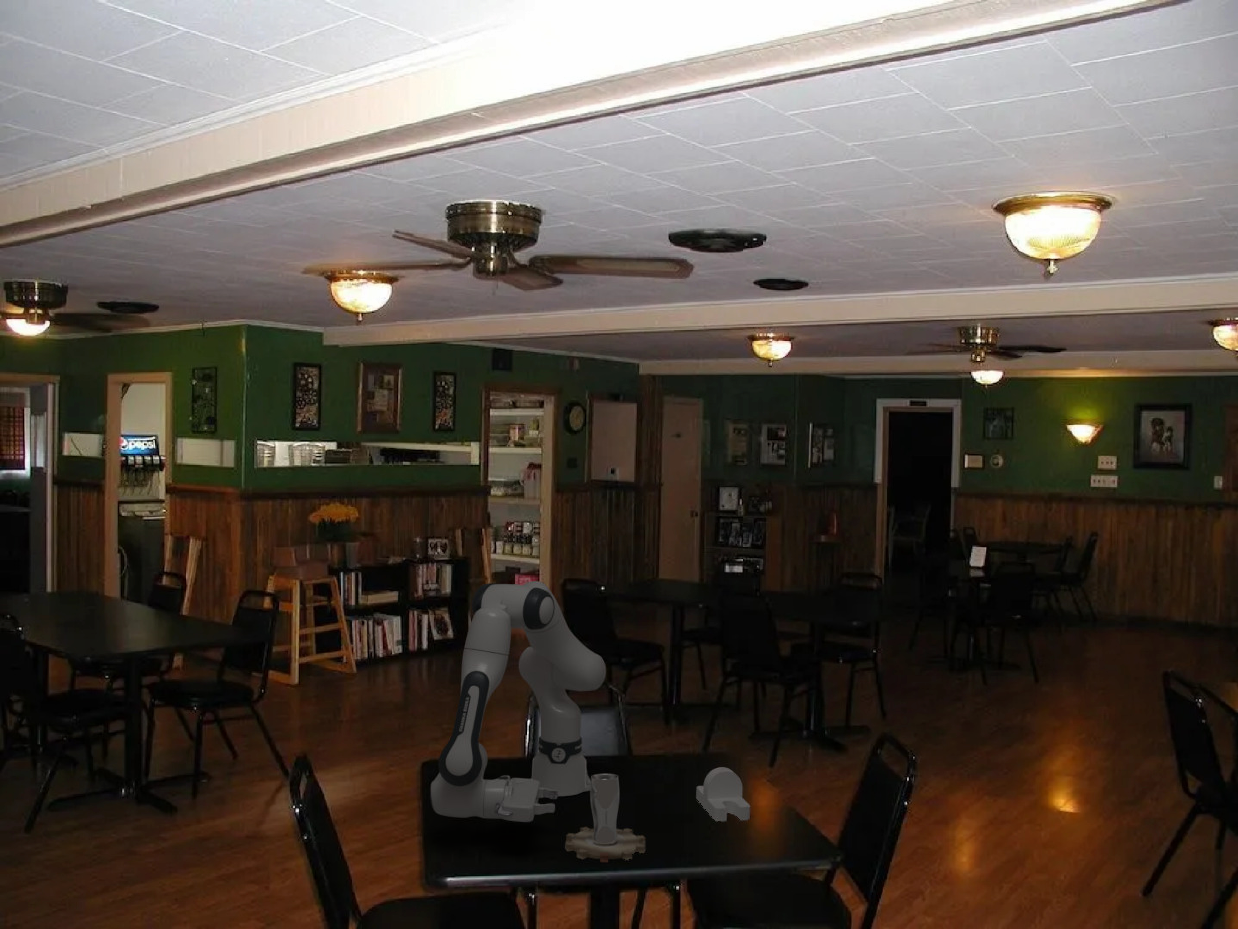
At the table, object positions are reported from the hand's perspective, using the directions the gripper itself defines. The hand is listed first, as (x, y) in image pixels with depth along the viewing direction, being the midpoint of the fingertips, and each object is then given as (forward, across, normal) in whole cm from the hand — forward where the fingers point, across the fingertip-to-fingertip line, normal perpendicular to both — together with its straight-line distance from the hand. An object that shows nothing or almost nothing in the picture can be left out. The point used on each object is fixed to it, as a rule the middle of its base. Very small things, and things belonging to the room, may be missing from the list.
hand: (556, 801), depth 262 cm
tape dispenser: (+42, +29, +11) cm, 52 cm away
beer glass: (+12, -1, +9) cm, 15 cm away
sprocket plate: (+12, 0, +10) cm, 16 cm away
